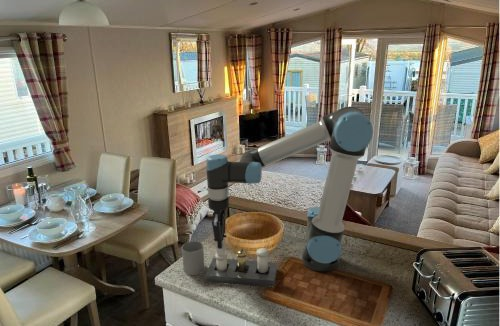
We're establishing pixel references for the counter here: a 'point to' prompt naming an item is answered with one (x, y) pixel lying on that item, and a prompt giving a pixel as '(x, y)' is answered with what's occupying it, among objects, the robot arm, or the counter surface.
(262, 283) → the panel
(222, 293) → the counter surface
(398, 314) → the counter surface
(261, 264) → the knob
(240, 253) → the brass slotted knob
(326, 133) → the robot arm
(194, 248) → the cup
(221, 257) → the knob
